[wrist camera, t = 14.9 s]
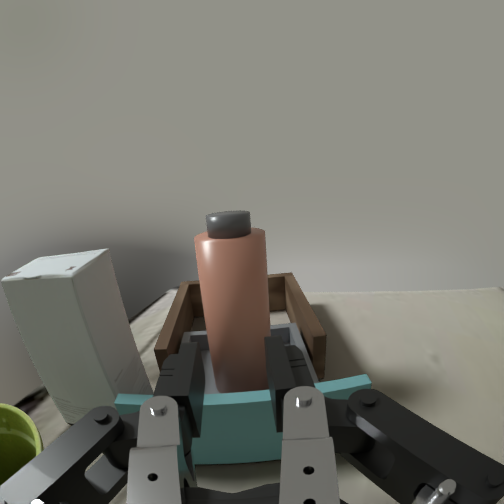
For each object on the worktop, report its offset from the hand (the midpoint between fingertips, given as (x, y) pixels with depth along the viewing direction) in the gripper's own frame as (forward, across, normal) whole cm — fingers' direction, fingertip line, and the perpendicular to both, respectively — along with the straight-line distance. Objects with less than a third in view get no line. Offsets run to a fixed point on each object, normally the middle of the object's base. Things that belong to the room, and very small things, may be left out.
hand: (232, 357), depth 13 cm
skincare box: (+8, +13, +12) cm, 19 cm away
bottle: (+11, 0, +10) cm, 15 cm away
